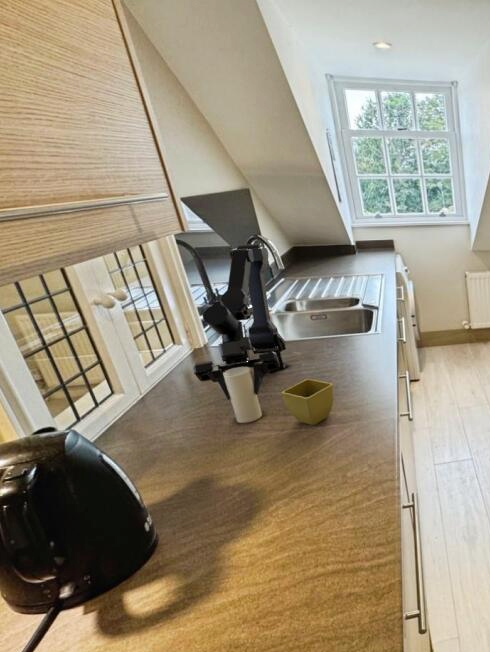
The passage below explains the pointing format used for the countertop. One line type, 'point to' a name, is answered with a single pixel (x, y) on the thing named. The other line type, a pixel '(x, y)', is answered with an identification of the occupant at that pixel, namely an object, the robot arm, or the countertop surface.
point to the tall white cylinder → (242, 394)
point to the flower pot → (309, 400)
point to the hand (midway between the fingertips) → (242, 396)
